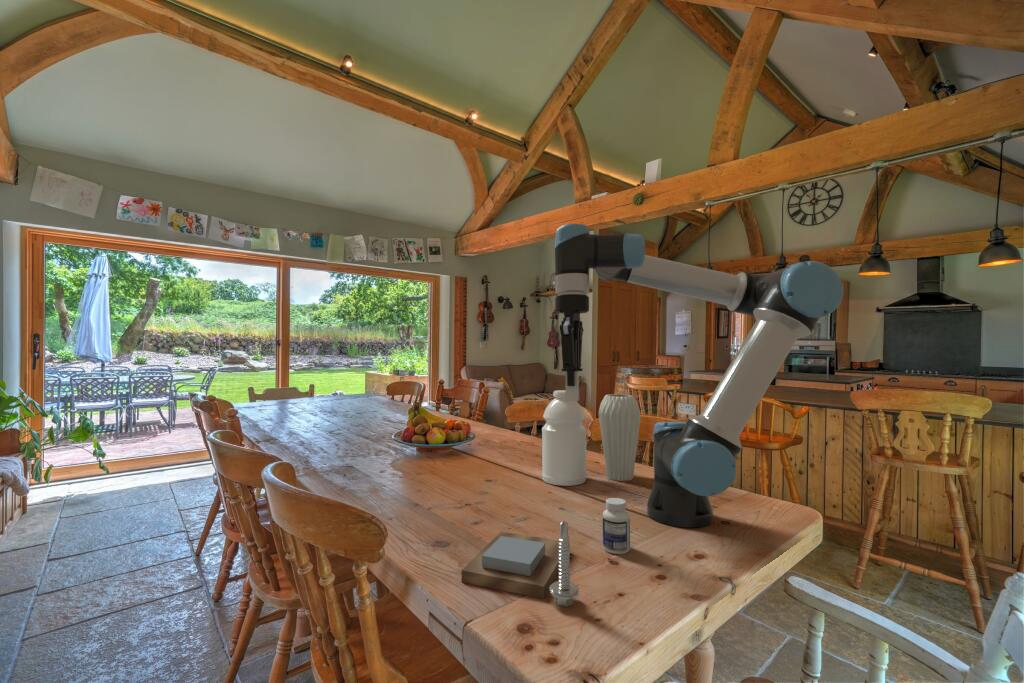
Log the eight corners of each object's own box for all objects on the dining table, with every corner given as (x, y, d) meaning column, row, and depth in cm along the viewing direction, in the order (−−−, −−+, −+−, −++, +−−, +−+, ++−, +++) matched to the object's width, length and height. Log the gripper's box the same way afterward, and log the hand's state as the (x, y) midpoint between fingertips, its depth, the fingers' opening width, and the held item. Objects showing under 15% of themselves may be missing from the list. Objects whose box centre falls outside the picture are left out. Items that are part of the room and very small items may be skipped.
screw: (585, 604, 71) (563, 614, 68) (564, 591, 75) (542, 600, 72) (585, 521, 71) (563, 528, 68) (564, 513, 75) (542, 519, 72)
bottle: (532, 479, 140) (532, 390, 141) (560, 471, 150) (560, 388, 150) (568, 489, 130) (567, 393, 131) (595, 480, 140) (595, 391, 140)
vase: (591, 473, 147) (591, 394, 147) (626, 470, 151) (626, 393, 151) (612, 485, 134) (611, 398, 135) (649, 481, 138) (649, 396, 139)
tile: (545, 543, 84) (530, 564, 75) (545, 554, 84) (530, 577, 75) (501, 535, 87) (481, 555, 78) (501, 547, 87) (481, 568, 78)
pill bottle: (610, 541, 95) (610, 494, 95) (634, 548, 91) (633, 500, 91) (598, 549, 90) (597, 501, 91) (622, 557, 87) (622, 507, 87)
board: (569, 552, 89) (569, 542, 89) (543, 598, 72) (543, 586, 72) (500, 541, 94) (500, 531, 94) (461, 581, 78) (461, 570, 78)
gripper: (562, 299, 107) (563, 397, 106) (547, 292, 95) (547, 403, 94) (594, 297, 104) (594, 398, 104) (582, 290, 92) (582, 404, 91)
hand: (572, 400), depth 99 cm, fingers closed
